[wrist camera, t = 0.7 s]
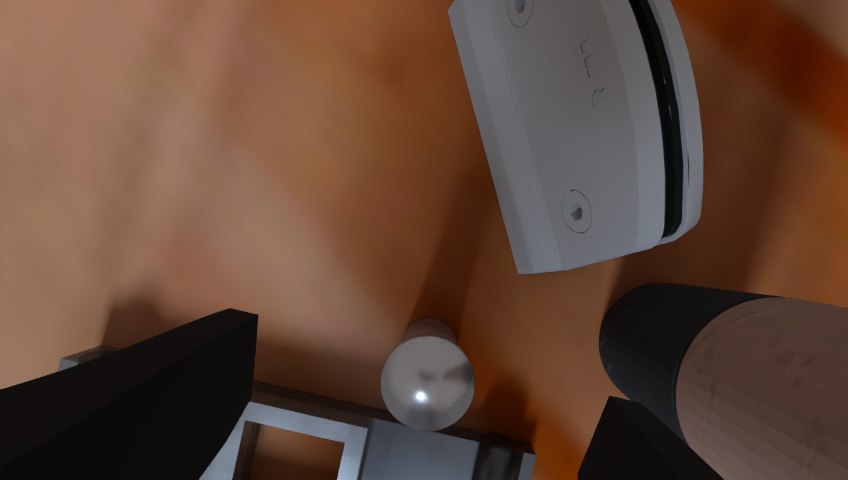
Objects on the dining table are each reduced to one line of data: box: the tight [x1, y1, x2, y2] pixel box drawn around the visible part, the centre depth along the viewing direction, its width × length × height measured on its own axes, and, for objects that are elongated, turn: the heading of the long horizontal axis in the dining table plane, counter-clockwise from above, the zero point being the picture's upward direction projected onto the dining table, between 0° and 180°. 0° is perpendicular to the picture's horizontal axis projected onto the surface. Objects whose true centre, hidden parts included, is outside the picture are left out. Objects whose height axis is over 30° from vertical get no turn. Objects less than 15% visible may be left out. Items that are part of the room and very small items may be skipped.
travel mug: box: [599, 283, 848, 480], centre depth 15 cm, size 8×8×20 cm
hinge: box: [448, 0, 703, 274], centre depth 22 cm, size 17×5×10 cm, turn 15°
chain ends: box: [58, 346, 536, 480], centre depth 24 cm, size 8×26×3 cm, turn 78°
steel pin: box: [381, 318, 475, 431], centre depth 22 cm, size 4×4×7 cm
